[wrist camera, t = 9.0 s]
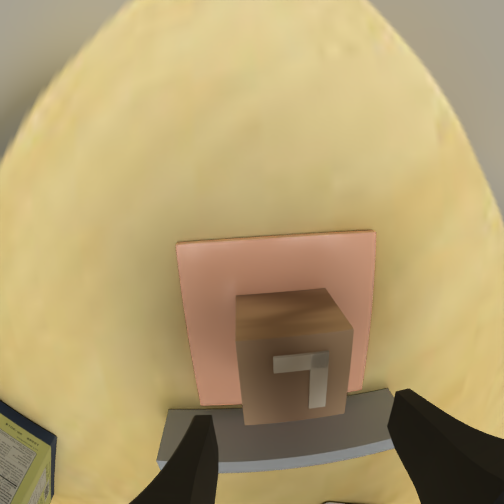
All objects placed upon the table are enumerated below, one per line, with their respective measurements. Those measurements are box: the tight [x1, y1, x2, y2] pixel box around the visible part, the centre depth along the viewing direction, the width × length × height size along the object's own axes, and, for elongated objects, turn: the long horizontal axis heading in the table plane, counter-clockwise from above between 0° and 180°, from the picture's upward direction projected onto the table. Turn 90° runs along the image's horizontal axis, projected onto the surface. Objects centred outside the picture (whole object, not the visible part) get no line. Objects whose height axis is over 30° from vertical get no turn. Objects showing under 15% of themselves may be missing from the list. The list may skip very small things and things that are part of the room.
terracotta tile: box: [176, 230, 376, 406], centre depth 19 cm, size 11×11×1 cm
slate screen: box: [156, 388, 395, 473], centre depth 18 cm, size 16×1×5 cm, turn 93°
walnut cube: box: [235, 288, 354, 425], centre depth 16 cm, size 5×5×5 cm
